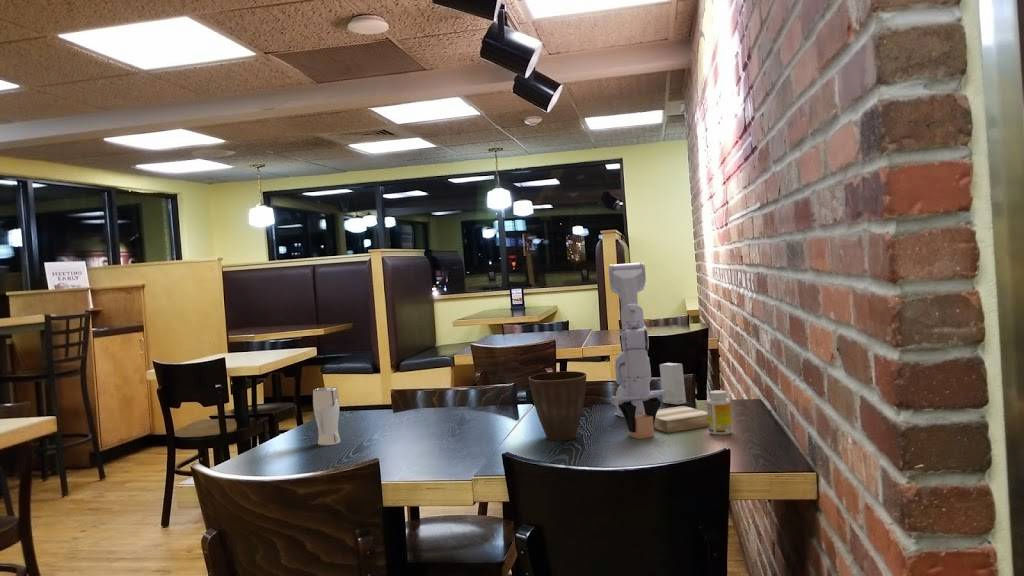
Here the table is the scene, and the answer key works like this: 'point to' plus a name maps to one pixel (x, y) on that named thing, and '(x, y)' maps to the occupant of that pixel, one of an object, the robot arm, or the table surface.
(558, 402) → the plant pot
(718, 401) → the supplement bottle
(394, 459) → the table surface
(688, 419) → the maple base
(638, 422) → the terracotta block
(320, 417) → the beer glass
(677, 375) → the skincare box
